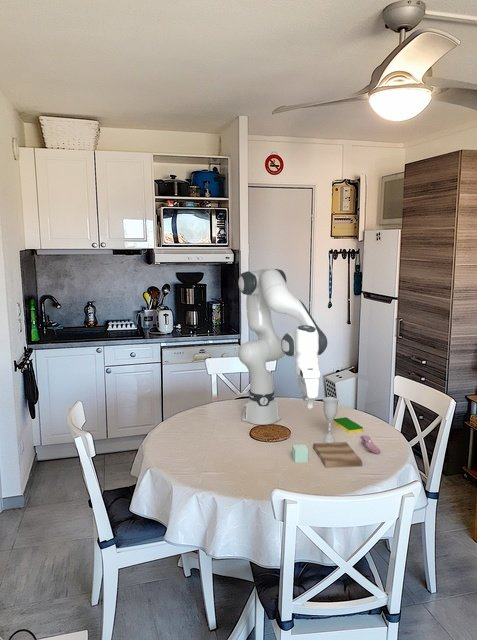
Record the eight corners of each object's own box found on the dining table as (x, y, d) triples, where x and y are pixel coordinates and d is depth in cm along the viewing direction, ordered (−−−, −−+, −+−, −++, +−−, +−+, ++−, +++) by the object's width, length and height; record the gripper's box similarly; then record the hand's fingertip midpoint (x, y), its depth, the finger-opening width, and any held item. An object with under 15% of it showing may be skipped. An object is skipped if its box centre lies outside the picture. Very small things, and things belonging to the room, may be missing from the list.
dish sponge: (345, 421, 229) (346, 416, 228) (363, 432, 216) (363, 427, 215) (332, 423, 226) (333, 418, 226) (349, 434, 213) (349, 429, 213)
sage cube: (292, 457, 189) (292, 445, 189) (304, 456, 190) (304, 444, 189) (295, 462, 184) (295, 450, 184) (307, 462, 185) (308, 449, 184)
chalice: (337, 444, 202) (339, 403, 199) (320, 442, 203) (322, 401, 200) (337, 437, 209) (338, 397, 206) (321, 436, 210) (322, 396, 207)
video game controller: (363, 448, 202) (356, 434, 200) (372, 443, 202) (366, 429, 200) (371, 458, 192) (364, 444, 191) (381, 453, 192) (375, 438, 191)
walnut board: (313, 447, 198) (313, 443, 198) (346, 446, 199) (346, 441, 199) (325, 467, 180) (326, 462, 180) (361, 466, 182) (362, 461, 181)
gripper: (294, 363, 192) (294, 396, 194) (303, 375, 172) (304, 412, 174) (309, 362, 193) (310, 396, 194) (321, 374, 172) (321, 411, 174)
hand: (307, 404), depth 184 cm, fingers open, 8 cm apart
